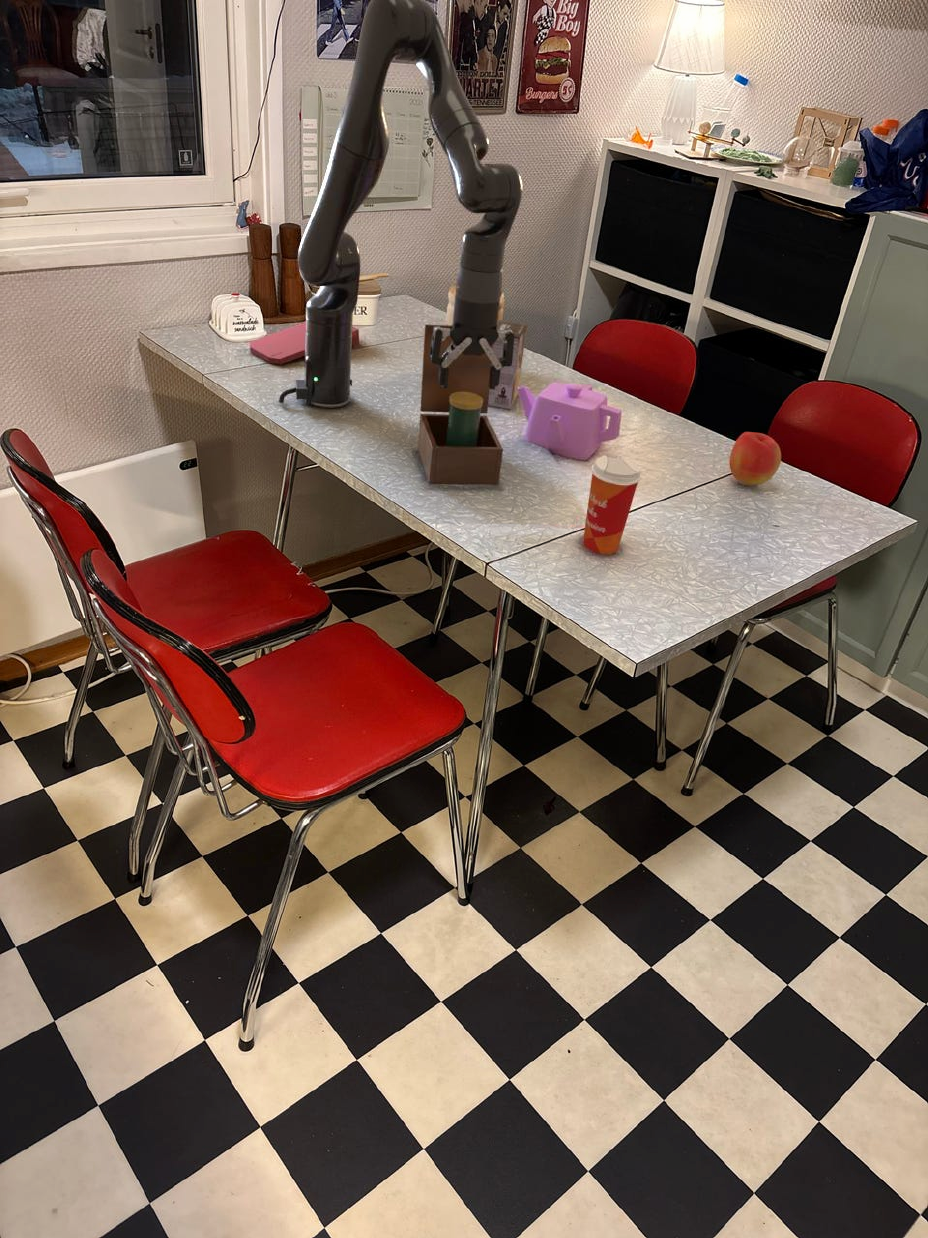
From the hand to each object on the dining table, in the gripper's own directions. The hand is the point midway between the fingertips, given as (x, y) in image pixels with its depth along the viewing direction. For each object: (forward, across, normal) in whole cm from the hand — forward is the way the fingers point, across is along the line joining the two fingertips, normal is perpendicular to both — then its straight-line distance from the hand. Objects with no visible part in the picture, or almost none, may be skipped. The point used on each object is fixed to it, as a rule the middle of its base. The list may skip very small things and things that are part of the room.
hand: (467, 387), depth 167 cm
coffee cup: (+17, -20, +26) cm, 37 cm away
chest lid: (+1, 0, -10) cm, 10 cm away
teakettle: (+17, -24, -14) cm, 33 cm away
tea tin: (+16, 0, 0) cm, 16 cm away
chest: (+17, 0, -2) cm, 17 cm away
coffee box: (+17, -16, -36) cm, 43 cm away
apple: (+17, -58, +2) cm, 60 cm away
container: (+17, -12, -53) cm, 57 cm away
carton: (+17, +25, -63) cm, 70 cm away
